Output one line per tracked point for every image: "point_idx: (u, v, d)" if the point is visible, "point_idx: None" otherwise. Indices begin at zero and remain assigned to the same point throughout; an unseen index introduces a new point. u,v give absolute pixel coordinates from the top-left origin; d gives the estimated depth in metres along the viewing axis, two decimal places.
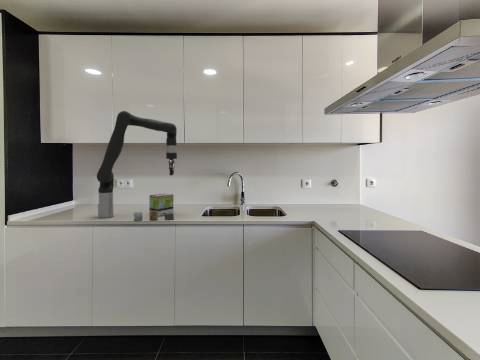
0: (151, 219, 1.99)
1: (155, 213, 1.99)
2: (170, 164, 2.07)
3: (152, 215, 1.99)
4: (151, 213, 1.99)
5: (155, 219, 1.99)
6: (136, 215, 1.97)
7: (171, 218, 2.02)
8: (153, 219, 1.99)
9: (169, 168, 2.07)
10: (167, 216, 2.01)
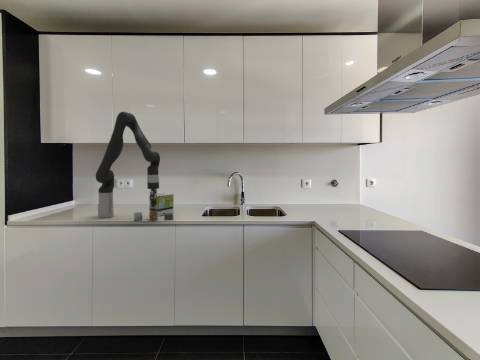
0: (151, 219, 1.99)
1: (155, 213, 1.99)
2: (151, 195, 1.93)
3: (152, 215, 1.99)
4: (151, 213, 1.99)
5: (155, 219, 1.99)
6: (136, 215, 1.97)
7: (171, 218, 2.02)
8: (153, 219, 1.99)
9: (150, 200, 1.93)
10: (167, 216, 2.00)
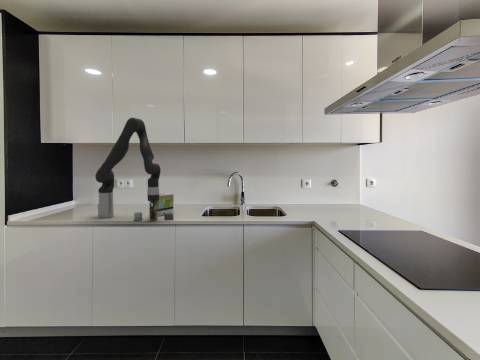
0: (151, 219, 1.99)
1: (155, 213, 1.99)
2: (151, 208, 1.94)
3: None
4: None
5: (155, 219, 1.99)
6: (136, 215, 1.97)
7: (171, 218, 2.02)
8: (153, 219, 1.99)
9: (150, 212, 1.94)
10: (167, 216, 2.00)
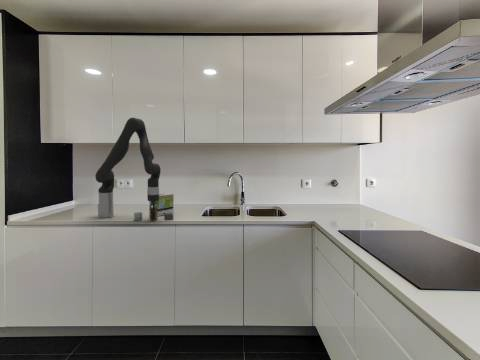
0: (151, 219, 1.99)
1: (155, 213, 1.99)
2: (151, 209, 1.95)
3: None
4: None
5: (155, 219, 1.99)
6: (136, 215, 1.97)
7: (171, 218, 2.02)
8: None
9: (151, 213, 1.96)
10: (167, 216, 2.00)
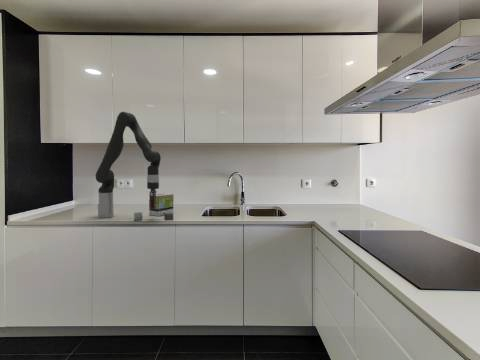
0: (150, 207, 1.98)
1: (155, 201, 1.98)
2: (151, 197, 1.94)
3: None
4: None
5: (154, 207, 1.99)
6: (136, 215, 1.97)
7: (171, 218, 2.02)
8: None
9: (150, 201, 1.95)
10: (167, 216, 2.00)
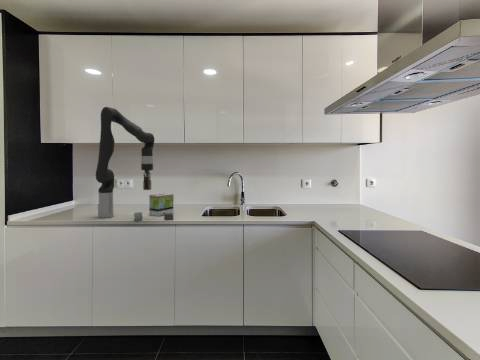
0: None
1: (149, 182, 1.99)
2: (145, 178, 1.95)
3: None
4: None
5: (149, 188, 1.99)
6: (136, 215, 1.97)
7: (171, 218, 2.02)
8: (147, 189, 1.99)
9: (144, 182, 1.95)
10: (167, 216, 2.00)
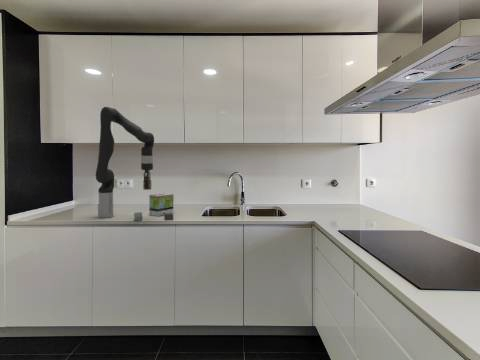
0: None
1: (149, 182, 1.99)
2: (145, 177, 1.95)
3: None
4: None
5: (149, 188, 1.99)
6: (136, 215, 1.97)
7: (171, 218, 2.02)
8: None
9: (144, 181, 1.95)
10: (167, 216, 2.00)
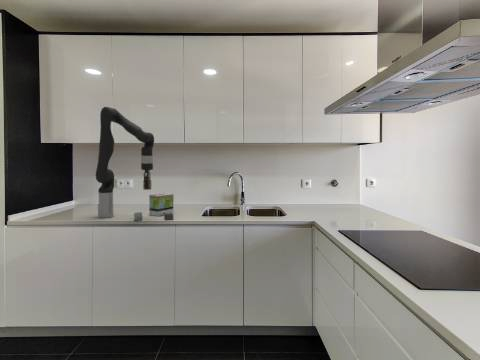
0: None
1: (149, 182, 1.99)
2: (145, 177, 1.95)
3: None
4: None
5: (149, 188, 1.99)
6: (136, 215, 1.97)
7: (171, 218, 2.02)
8: None
9: (144, 181, 1.95)
10: (167, 216, 2.00)
